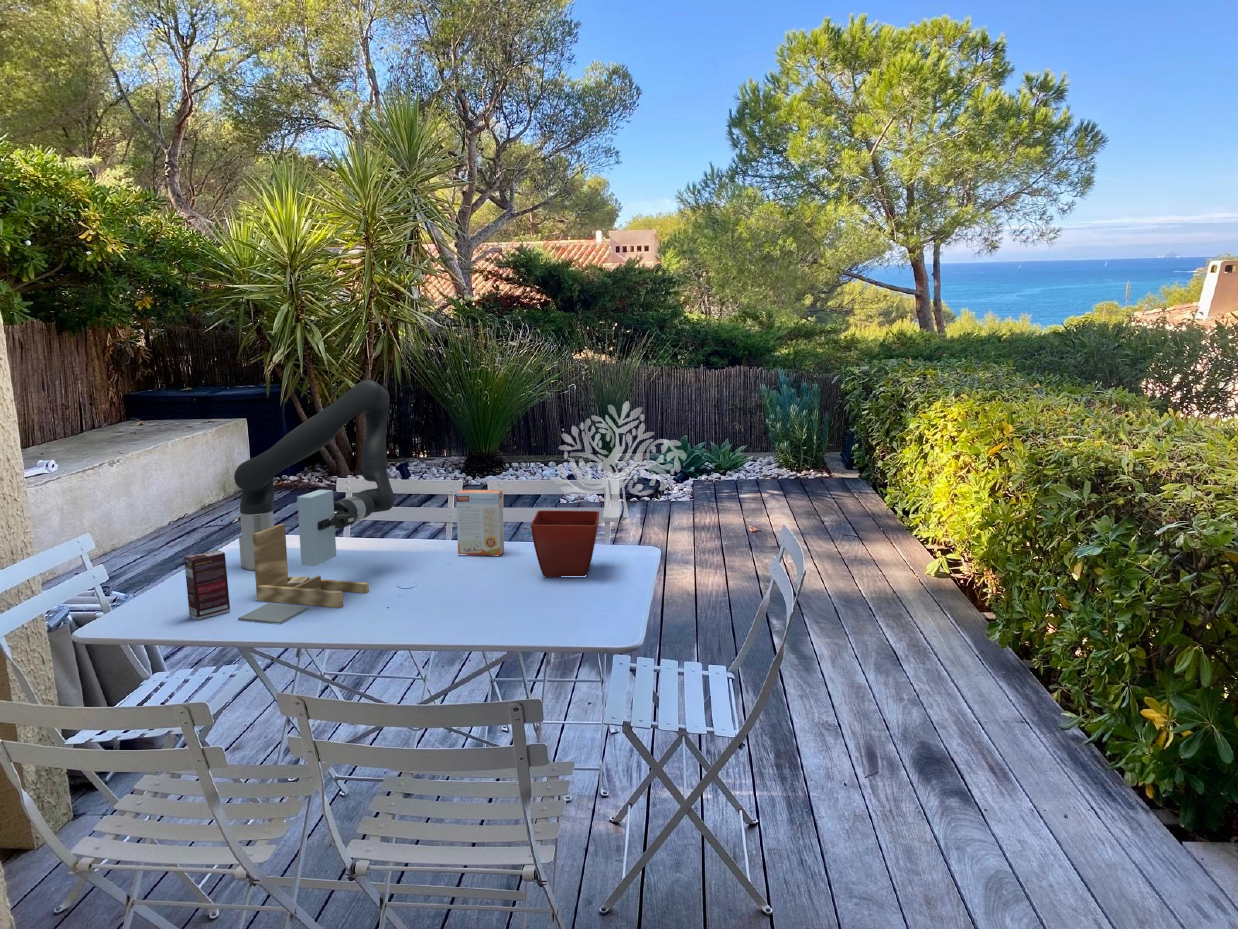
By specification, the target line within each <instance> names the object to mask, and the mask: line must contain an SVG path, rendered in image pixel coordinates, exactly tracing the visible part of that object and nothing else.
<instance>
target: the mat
mask: <svg viewBox="0 0 1238 929" xmlns="http://www.w3.org/2000/svg"><path fill="white" fill-rule="evenodd" d="M309 609H310V608H309V606H307V605H295V604H284V603H273V602H267V603H266V604H264V605H262V606H260V607H258V608H256V609H253V610H252V611H249V612H247V613H245V614H243V615H241V616H239V617H238V618H237V620H238V621H240V620H247V621H246V622H251V621H254V622H255V623H263V624H272V623H282V624H284V623H285V622H288V621H289V620H291V619H293V618H295V617H296V616H299V615H300V614H302V613H304V612H306V611H308V610H309ZM254 622H253V623H254ZM283 622H284V623H283Z"/></svg>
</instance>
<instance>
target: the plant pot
mask: <svg viewBox="0 0 1238 929" xmlns="http://www.w3.org/2000/svg"><path fill="white" fill-rule="evenodd" d="M599 519H600V511H597V510H537V512H536V514H535V516H534V517H533V520H532V521H531V523H530V528H531V536H532V542H533V547H534V549H535V550H534V551H535V555H536V558H537V561H538V565H539V568H540V571H541V574H542V576H543V577H544V576H545V577H544V578H562V577H561V576H585V575H587V576H588V574H589V570H590V567H591V564H592V559H593V556H594V549H595V545H596V544H595V543H596V539H597V533H598V527H599V521H600V520H599Z"/></svg>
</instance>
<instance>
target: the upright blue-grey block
mask: <svg viewBox="0 0 1238 929" xmlns="http://www.w3.org/2000/svg"><path fill="white" fill-rule="evenodd" d="M296 499H297V501H296V502H297V512H298V514H297V516H298V532H299V533H298V534H299V548H300V549H299V550H300V562H301V563H300V564H301V566H306V567H308V566H309V567H317V566H319V565H321V564H324V563H325V562H327V561H329V560H331V559H333V558H335V557H337V544H336V539H337V538H336V528H335V527H332V528H325V529H323V530H318V522H319V521H322V520H325V519H327V518H329V517H330V516H331V515H332V514H334V502H335V501H334V491H333V490H332V489H331V490H329V489H317V490H315V491H314V490H313V491H312V492H308V493H306V494H305V493H304V494H302V495H299V496H297V498H296Z"/></svg>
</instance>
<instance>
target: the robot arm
mask: <svg viewBox="0 0 1238 929" xmlns="http://www.w3.org/2000/svg"><path fill="white" fill-rule="evenodd" d="M389 409H390V395H389V392H388V391H387V390H386V388H385V387H383V386H382V385H380V383H378V382H377V381H375V380H370V379H367V380H366V379H365V380H362V381H360V382H358V383H356V384H355V385H354V386H353V387H351V388H350V389H349V390H348V391H346V392H345V393H344V394H343V395H341V396H340V397H339V398H338V399H337V400H336V401H334V402H333V403H331V404H330V405H329V406H327V407H325V408H324V409H322V410H321V411H319V412H318V413H317V414H314V415H313V416H311V417H310V418H308V419H307V420H305V421H303V422H302V423H301V424H299V425H298V426H296V427H294V429H292V430H291V431H289V432H288V433H287V434H285V435H284V436H283V437H282V438H281V439H279V440H278V441H277V442H276V443H274V445H272V446H271V447H270V448H269V449H267V450H265V451H264V452H262V453H259V454H258V455H256V456H255V457H251V458H249V459H246V461H243V462H241V463H240V464H239V465H238V466H237V467H236V469H235V471H234V477H233V479H234V482H235V485H236V486H237V487H238V488H239V489H240V490H241V500H240V503H239V512H240V513H239V514H240V515H239V516H240V526H241V527H240V528H241V536H239V537H238V541H239V544H238V545H239V556H240V558H239V559H240V568H243V569H244V570H245V569H246V570H248V571H249V570H250V571H255V564H254V550H253V535H252V534H254V533H257V532H259V531H262V530H265V529H268V528H271V527H274V526H275V519H274V501H275V500H274V499H275V491H274V490H275V487H274V486H275V483H274V477H276V476H277V475H278V474H280V473H281V472H282V471H285V469H286V468H289V467H291V466H293V465H295V464H297V463H298V462H301V461H302V460H304V459H306V458H308V457H310V456H312V455H313V454H315V453H317V452H318V451H320V450H321V449H322V448H324V447H325V446H327V445H328V444H330V443H331V442H332V441H333V440H334V439H335V437H336V436H337V435H338V434H339V432H340V431H341V429H342V428H343V427H344V426H345V425H346V424H347V423H348V422H349V421H351V420H353V419H354V418H355V417H357V416H358V415H361V414H362V413H364V416H365V417H364V418H365V424H366V426H365V427H366V430H365V437H364V438H365V439H364V442H363V446H362V452H361V461H362V462H361V463H362V464H361V465H362V477H363V479H364V480H365V481H366V482H374V483H375V484H376V486H377V488H375V487H374V488H370V489H364V490H361V491H359V492H358V493H357V494H355V495H353V496H349V497H344V498H342V499H341V498H340V499H339V500H336V501H333V502H334V514H332V515H331V516H330V517H329V518H327V519H325V520H322V521H319V522H318V530H323V529H325V528H332V527H335V529H338V530H339V529H345V528H346V527H349V526H351V525H354V524H356V523H358V522H359V521H362V520H363V519H366V518H367V517H369V516H371V515H372V514H373V513H379V512H380V513H382V512H387V511H390V510H391V509H392V508H393V506H394V504H395V494H394V491H393V488H392V486H391V482H390V478H389V475H388V464H387V463H388V462H387V443H386V442H387V425H388V416H389Z"/></svg>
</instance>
